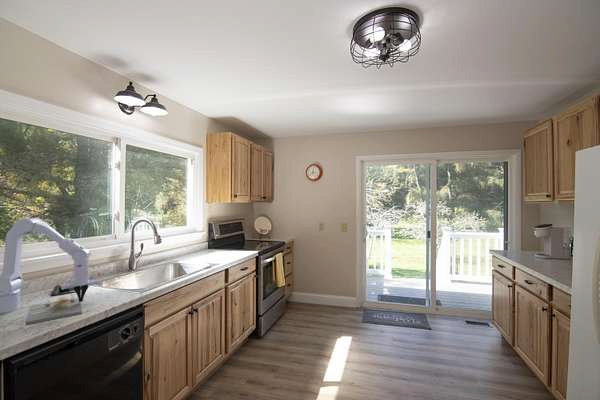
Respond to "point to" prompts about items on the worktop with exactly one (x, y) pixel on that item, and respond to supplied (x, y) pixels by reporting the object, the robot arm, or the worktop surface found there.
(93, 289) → the worktop surface
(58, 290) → the door handle
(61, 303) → the birch block
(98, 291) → the worktop surface
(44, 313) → the slate board
